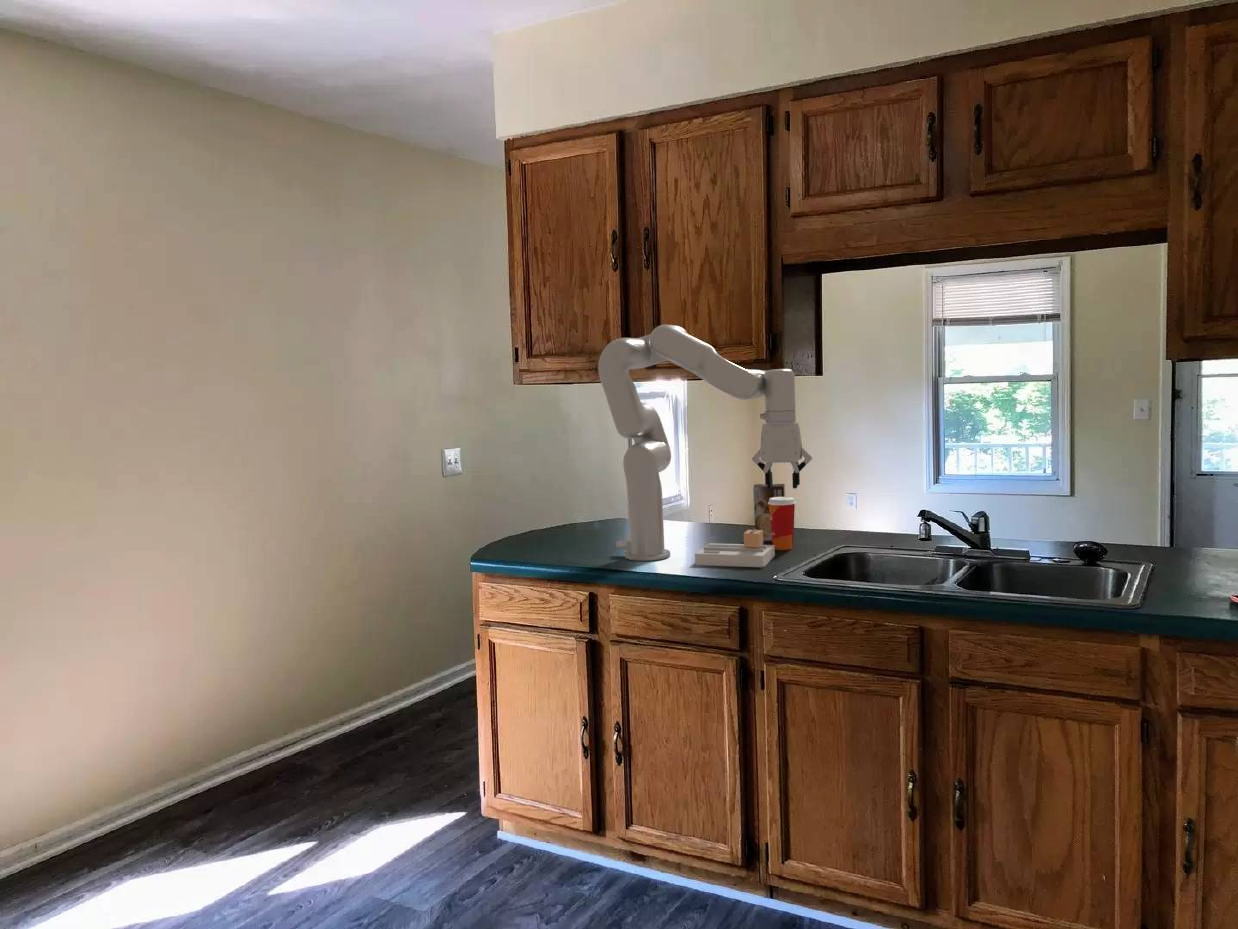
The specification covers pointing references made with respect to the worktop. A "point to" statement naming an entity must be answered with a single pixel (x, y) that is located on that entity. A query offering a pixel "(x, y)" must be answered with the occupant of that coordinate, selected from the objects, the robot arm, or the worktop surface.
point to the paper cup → (782, 522)
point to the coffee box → (765, 506)
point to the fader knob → (753, 538)
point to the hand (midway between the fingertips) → (782, 487)
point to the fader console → (734, 555)
